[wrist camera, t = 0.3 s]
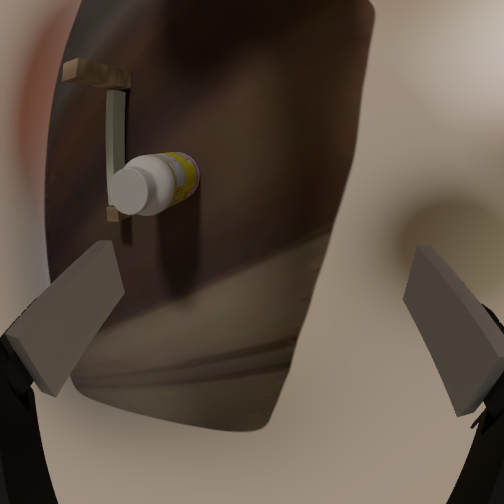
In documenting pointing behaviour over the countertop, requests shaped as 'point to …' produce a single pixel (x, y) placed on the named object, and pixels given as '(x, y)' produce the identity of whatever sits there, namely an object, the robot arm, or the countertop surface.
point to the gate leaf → (115, 134)
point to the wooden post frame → (103, 78)
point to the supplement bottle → (153, 183)
